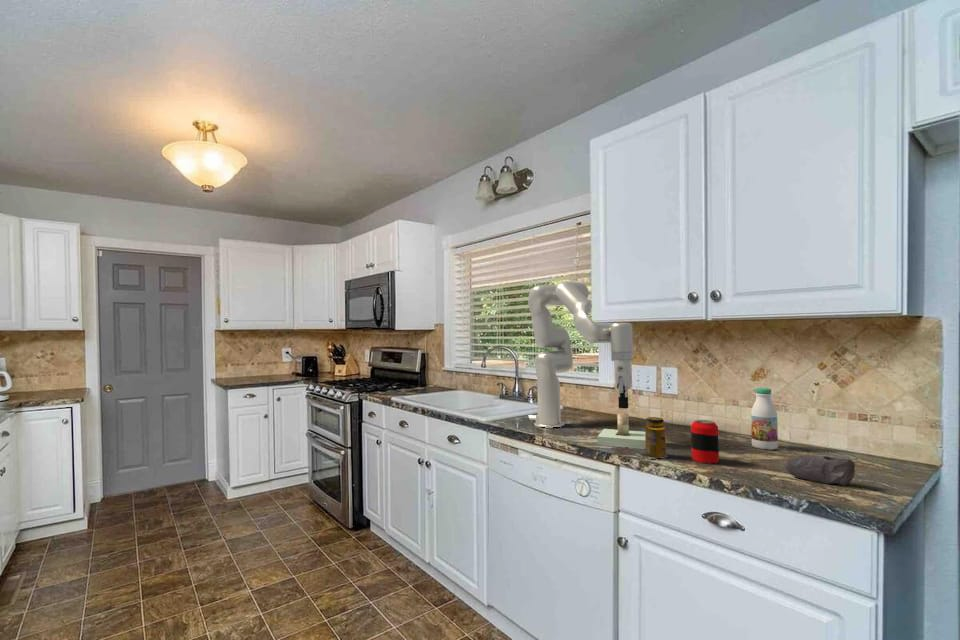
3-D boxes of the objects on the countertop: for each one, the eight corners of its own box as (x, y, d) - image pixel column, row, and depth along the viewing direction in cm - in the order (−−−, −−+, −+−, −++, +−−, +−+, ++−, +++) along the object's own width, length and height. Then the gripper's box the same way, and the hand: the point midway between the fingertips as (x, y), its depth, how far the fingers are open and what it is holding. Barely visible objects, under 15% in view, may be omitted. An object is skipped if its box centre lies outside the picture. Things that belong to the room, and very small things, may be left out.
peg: (617, 443, 168) (616, 415, 168) (618, 441, 171) (618, 413, 172) (628, 444, 166) (627, 415, 166) (629, 441, 170) (629, 414, 170)
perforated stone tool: (783, 478, 127) (783, 452, 127) (787, 474, 131) (786, 448, 131) (854, 490, 117) (853, 462, 117) (856, 485, 121) (855, 458, 121)
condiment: (671, 457, 149) (671, 419, 149) (652, 460, 145) (651, 421, 146) (654, 452, 156) (653, 415, 156) (634, 455, 152) (634, 417, 152)
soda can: (686, 459, 147) (685, 420, 147) (704, 456, 149) (703, 418, 150) (705, 465, 140) (704, 424, 140) (724, 462, 142) (723, 422, 143)
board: (597, 445, 166) (597, 436, 166) (604, 436, 178) (603, 428, 178) (645, 449, 159) (645, 440, 159) (648, 440, 172) (648, 432, 172)
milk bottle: (751, 443, 165) (750, 386, 165) (777, 446, 161) (776, 387, 161) (751, 448, 158) (750, 389, 159) (778, 451, 154) (777, 390, 155)
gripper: (630, 357, 161) (632, 411, 160) (635, 355, 175) (636, 405, 174) (608, 357, 164) (609, 410, 163) (614, 355, 178) (615, 404, 177)
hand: (623, 407), depth 169 cm, fingers closed
